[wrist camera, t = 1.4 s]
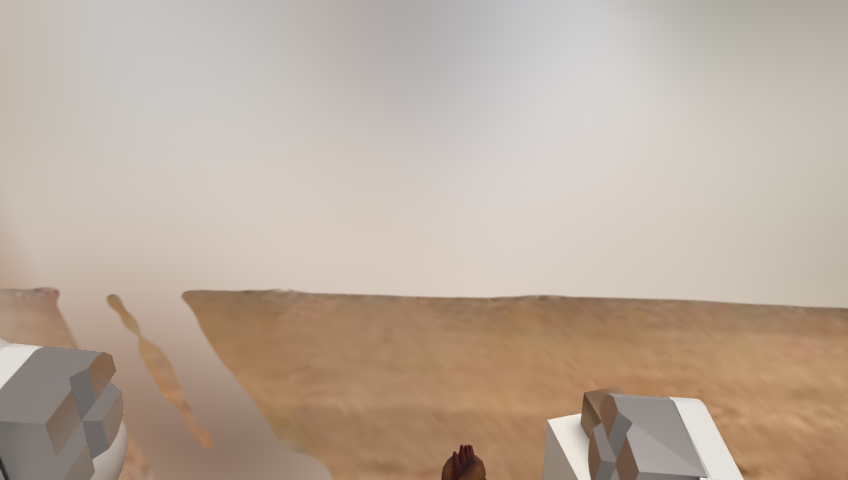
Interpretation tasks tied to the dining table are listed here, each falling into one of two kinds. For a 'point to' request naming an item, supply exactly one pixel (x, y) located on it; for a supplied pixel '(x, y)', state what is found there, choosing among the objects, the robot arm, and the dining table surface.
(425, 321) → the dining table surface
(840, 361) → the dining table surface
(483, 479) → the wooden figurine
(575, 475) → the white stand
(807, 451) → the dining table surface
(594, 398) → the walnut bar
